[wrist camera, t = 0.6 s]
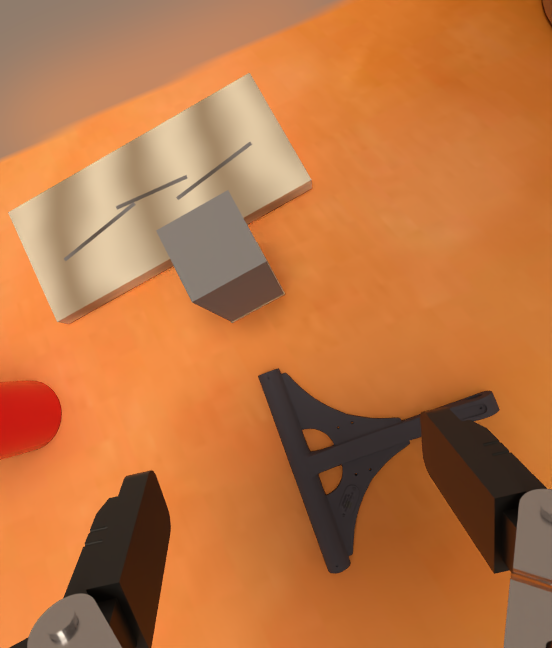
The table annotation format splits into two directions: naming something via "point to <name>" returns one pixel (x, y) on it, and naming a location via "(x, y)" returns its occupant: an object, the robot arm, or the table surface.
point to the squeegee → (344, 455)
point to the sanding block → (220, 259)
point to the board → (155, 197)
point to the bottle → (27, 417)
